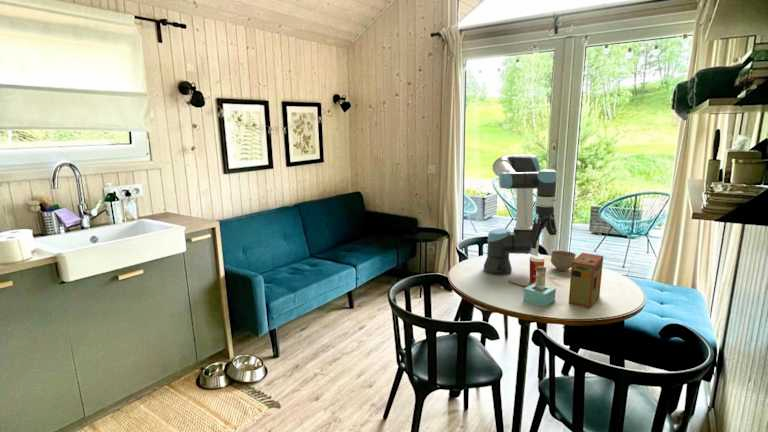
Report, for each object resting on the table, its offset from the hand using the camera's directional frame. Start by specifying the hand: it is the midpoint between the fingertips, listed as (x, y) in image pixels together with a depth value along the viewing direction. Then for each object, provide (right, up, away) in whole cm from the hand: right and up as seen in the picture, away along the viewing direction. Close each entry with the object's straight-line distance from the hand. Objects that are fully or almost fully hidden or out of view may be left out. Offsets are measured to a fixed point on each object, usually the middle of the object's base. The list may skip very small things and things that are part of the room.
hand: (542, 251), depth 183 cm
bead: (0, -23, +5) cm, 23 cm away
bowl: (+29, -14, +44) cm, 55 cm away
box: (+21, -23, +4) cm, 31 cm away
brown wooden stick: (-3, -19, +24) cm, 30 cm away
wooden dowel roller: (0, -23, +5) cm, 23 cm away
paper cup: (+7, -19, +26) cm, 32 cm away
